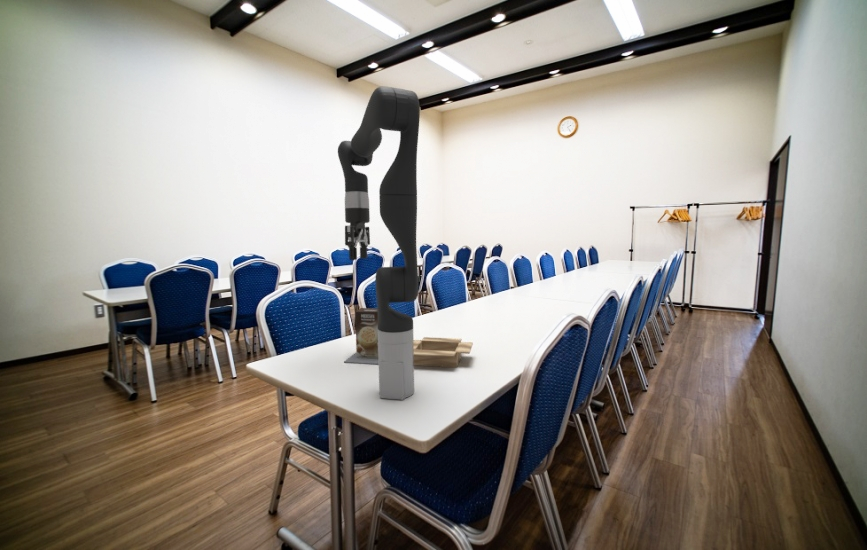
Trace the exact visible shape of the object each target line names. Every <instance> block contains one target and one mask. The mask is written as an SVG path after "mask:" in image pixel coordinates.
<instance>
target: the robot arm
mask: <svg viewBox="0 0 867 550" xmlns="http://www.w3.org/2000/svg"><path fill="white" fill-rule="evenodd" d="M420 109H421V108H420V100H419V96H418V95H417V93H416V92H415V91H413V90H411V89H410V90H409V89H404V88H397V87H392V86H391V87H390V86H378V87H376V88H375V89H374V90H373V92H372V93H371V95H370V98H369V100H368V103H367V105H366V108H365V111H364V114H363V117H362V121H361V124H360V126H359V128H358V129H357V131H356V132H355V133H354V135H353V136H352V138H351V140H342V141H341V142H340V143H339V145H338V146H337V156H338V160H339V164H340V166H341V169H342V172H343V177H344V191H345V194H344V218H345V220H344V222H345V223H346V224H349V225H344V244H345V245H344V246H347V247H348V252H349V253H348V255H349V256H348V257H349V258H348V259H349V260H351V261H356V260H357V258H358V249H357V248H358V247H357V245H358V244H359V257H360V259H362V260H363V259H368V247H369V245H370V244H371V239H370V237H371V236H370V235H371V234H370V227H369V226H366V224H368V223H370V221H371V220H370V219H371V217H370V197H369V184H368V183H369V180H368V175H367V174H365V173H362V172H359V171H357V170H355V168H354V167H353V166H358V167H359V166H360V167H367V166H370V165H371V164H372V162H373V157H374V156H373V155H374V152H376V151H377V150H378V148H379V147H380V145H381V143H382V139H383V134H382V131H381V130H384V131H391V132H392V131H393V132H400V139H399V144H398V145H399V146H398V150H397V153H396V156H395V158H394V160H393V161H392V163H391V165H390V167H389V168H388V170H387V171H386V173H385V175H384V176H383V178H382V181H381V183H380V186H379V191H378V192H379V195H378V196H379V214H380V215H379V216H380V218H381V221H382V222H383V223H384V225H385V227H386V228H387V230H388V232H389V233H390V235H391V236H392V237H393V239H394V241H395V242H396V244H397V246H398V248H399V249H400V252H401V253H402V256H403V260H404V266H382V267H379V268H378V269H377V270H376V271H375V292H376V293H375V294H376V306H377V307H376V308H377V310H378V361H379V365H378V386H379V387H378V391H379V398H380V399H388V400H389V399H390V400H402V401H403V400H405V399H406V398H408V397H411V396H412V395H414V393H415V365H414V345H413V340H414V320H413V317H412V316H411V315H409V314H406V313H403V312H399V311H397V310H395V309H393V308H392V307H391V305H390V304H392V303H393V304H394V303H397V304H398V303H412V302H415V301H416V300H417V297H418V296H419V269H418V268H419V267H418V253H417V252H418V251H417V224H418V222H417V220H418V218H417V216H418V189H417V188H418V187H417V185H418V184H417V183H418V182H417V181H418V180H417V177H418V176H417V175H418V174H417V173H418V172H417V171H418V170H417V169H418V168H417V165H418V164H417V162H418V161H417V156H418V145H419V144H418V143H419V131H420V115H421V114H420V111H421V110H420Z"/></svg>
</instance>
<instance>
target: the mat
mask: <svg viewBox="0 0 867 550" xmlns="http://www.w3.org/2000/svg"><path fill="white" fill-rule="evenodd" d="M343 363H344V364H359V365H374V366H379V361H378V358H357V357H356V352H355V353H353V354H352V355H351V356H349V357H348V358H347V359H346V360H344V361H343Z"/></svg>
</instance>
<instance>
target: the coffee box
mask: <svg viewBox="0 0 867 550" xmlns="http://www.w3.org/2000/svg"><path fill="white" fill-rule="evenodd" d="M355 350H356V352H355V353H356V357H357V358H378V310H377V307H376V308H374V307H373V308H372V307H371V308H370V307H360V308H359V309H357V310H355Z"/></svg>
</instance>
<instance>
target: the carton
mask: <svg viewBox="0 0 867 550" xmlns="http://www.w3.org/2000/svg"><path fill="white" fill-rule="evenodd" d="M413 345H414V366H427V367H428V366H429V367H442V368H443V367H445V368H447V367H448V368H458V365H459V362H460V360H461V357H462V354H464V355H465V354H467V355H468V354H470V353H471V351H472V347H473V345H474V342H468V341H462V338H453V337H451V338H450V337H448V338H447V337H428V336H426V337H425V336H424V337H423V338H422V340H421V339H420V340H419V339H413Z"/></svg>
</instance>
